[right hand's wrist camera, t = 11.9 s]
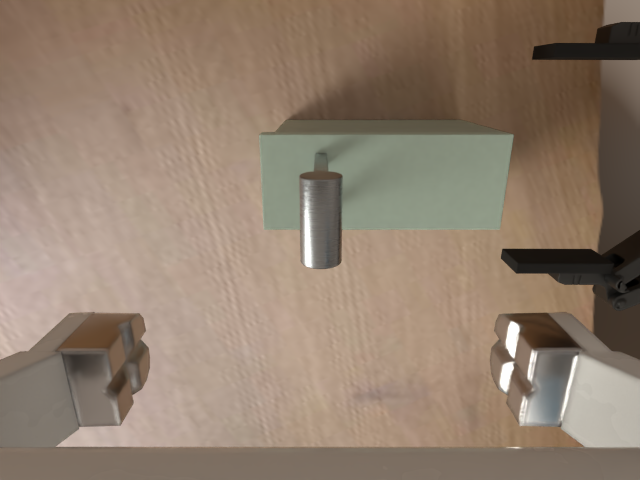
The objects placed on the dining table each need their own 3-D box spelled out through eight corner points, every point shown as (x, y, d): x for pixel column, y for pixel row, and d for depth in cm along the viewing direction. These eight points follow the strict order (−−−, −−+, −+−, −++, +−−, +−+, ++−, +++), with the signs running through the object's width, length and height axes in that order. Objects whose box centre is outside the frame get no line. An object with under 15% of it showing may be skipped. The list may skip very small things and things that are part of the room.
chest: (287, 191, 36) (277, 223, 27) (285, 119, 34) (274, 132, 26) (453, 191, 36) (492, 223, 27) (461, 119, 34) (506, 131, 25)
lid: (265, 224, 27) (241, 287, 19) (261, 132, 25) (232, 157, 17) (493, 224, 27) (569, 288, 19) (506, 132, 25) (598, 157, 17)
